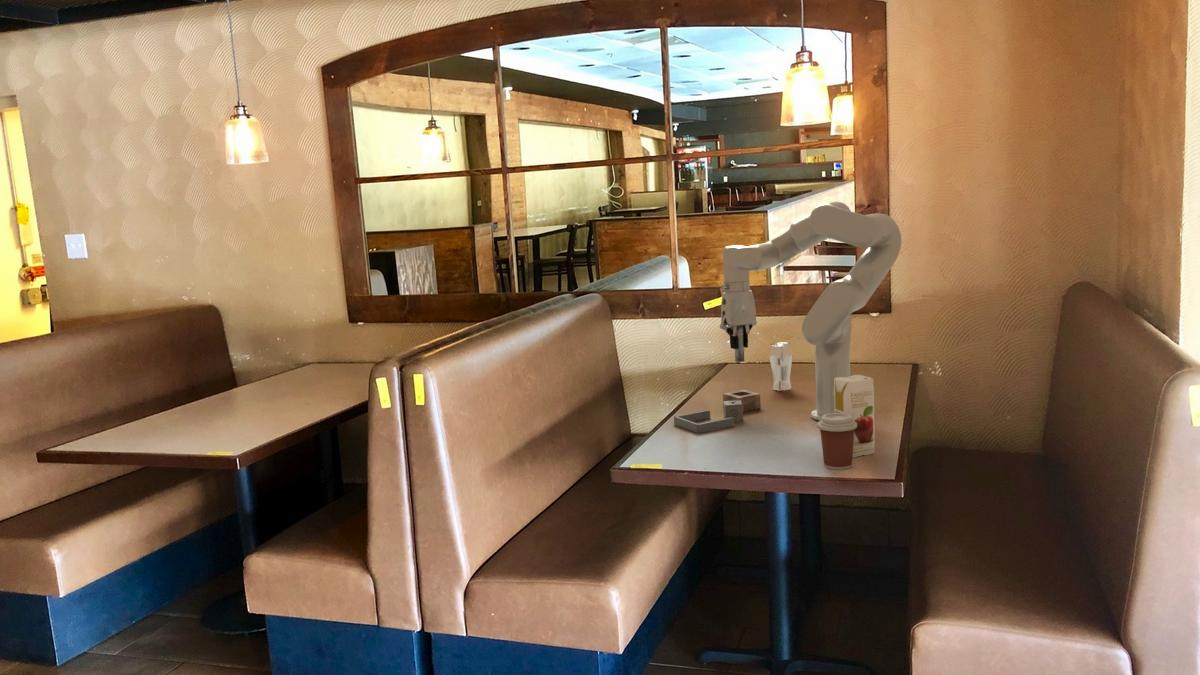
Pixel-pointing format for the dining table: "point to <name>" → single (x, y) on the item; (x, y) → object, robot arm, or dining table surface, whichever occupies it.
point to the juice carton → (857, 409)
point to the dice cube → (733, 410)
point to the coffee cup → (837, 440)
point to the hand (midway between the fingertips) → (739, 347)
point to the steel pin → (740, 345)
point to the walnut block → (744, 399)
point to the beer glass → (781, 365)
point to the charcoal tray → (688, 423)
